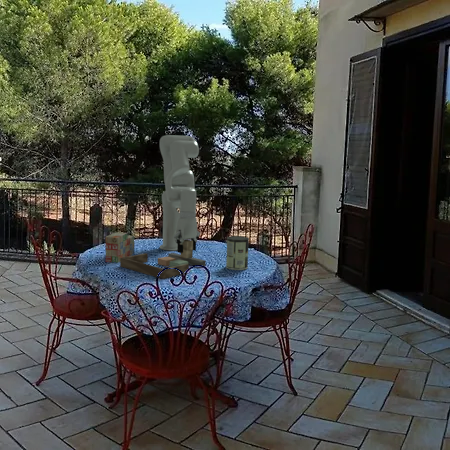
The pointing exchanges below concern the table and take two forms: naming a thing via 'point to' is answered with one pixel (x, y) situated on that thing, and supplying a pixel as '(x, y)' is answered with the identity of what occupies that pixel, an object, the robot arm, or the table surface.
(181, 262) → the tile sage
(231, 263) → the coffee can
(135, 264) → the box
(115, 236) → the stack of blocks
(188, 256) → the scraper
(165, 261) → the tile terracotta
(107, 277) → the table surface
